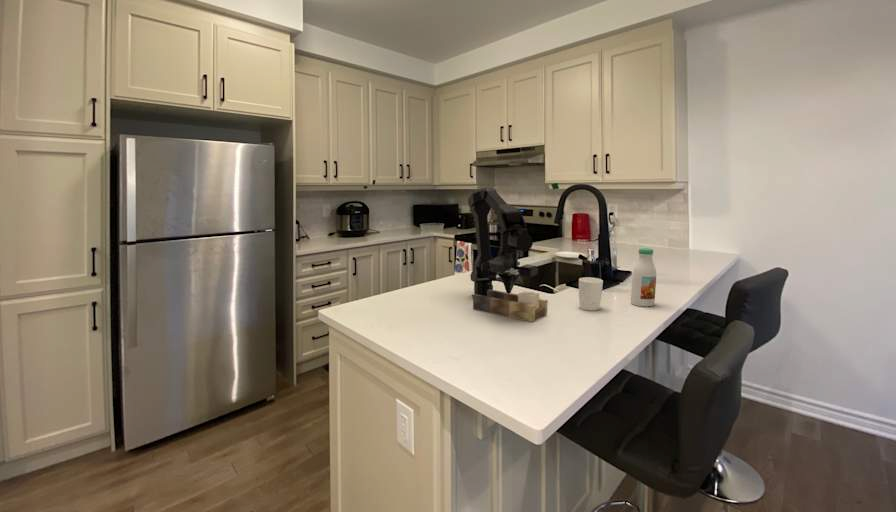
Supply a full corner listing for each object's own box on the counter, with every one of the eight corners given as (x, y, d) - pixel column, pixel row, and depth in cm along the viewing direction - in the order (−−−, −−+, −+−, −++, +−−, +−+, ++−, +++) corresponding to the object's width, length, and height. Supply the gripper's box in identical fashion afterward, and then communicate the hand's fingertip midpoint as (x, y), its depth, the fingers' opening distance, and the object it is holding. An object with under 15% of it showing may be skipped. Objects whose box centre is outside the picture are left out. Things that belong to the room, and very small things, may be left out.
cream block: (517, 308, 137) (518, 293, 136) (525, 305, 141) (525, 290, 140) (531, 311, 134) (531, 296, 133) (538, 307, 138) (539, 293, 137)
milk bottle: (630, 306, 148) (634, 249, 145) (630, 300, 155) (633, 246, 152) (655, 308, 145) (659, 251, 142) (653, 302, 152) (657, 247, 149)
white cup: (598, 305, 150) (599, 277, 148) (604, 311, 142) (605, 282, 140) (575, 304, 150) (576, 277, 149) (580, 310, 143) (581, 282, 141)
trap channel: (473, 308, 146) (473, 294, 145) (489, 302, 154) (489, 289, 153) (532, 321, 131) (532, 306, 131) (547, 314, 139) (547, 299, 138)
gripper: (472, 247, 139) (472, 293, 141) (521, 253, 127) (520, 303, 130) (491, 244, 147) (490, 287, 150) (539, 248, 136) (537, 295, 138)
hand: (508, 293), depth 142 cm, fingers closed
